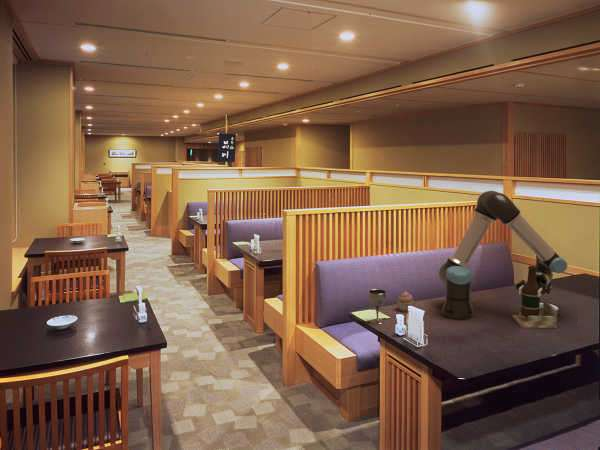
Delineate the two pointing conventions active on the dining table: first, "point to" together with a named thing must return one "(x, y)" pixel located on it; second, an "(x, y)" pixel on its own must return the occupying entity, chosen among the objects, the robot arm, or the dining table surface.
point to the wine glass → (377, 302)
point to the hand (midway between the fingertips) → (529, 292)
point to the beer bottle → (530, 295)
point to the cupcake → (405, 301)
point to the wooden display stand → (539, 318)
